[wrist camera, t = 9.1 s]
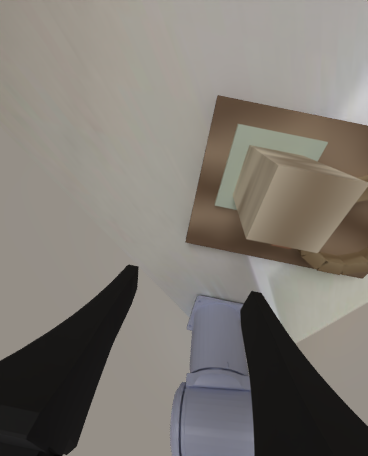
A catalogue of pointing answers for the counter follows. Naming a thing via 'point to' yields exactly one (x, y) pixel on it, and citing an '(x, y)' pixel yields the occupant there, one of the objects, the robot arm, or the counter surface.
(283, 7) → the counter surface
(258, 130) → the sage pad
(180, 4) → the counter surface
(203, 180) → the base board
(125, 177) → the counter surface
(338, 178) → the peg
